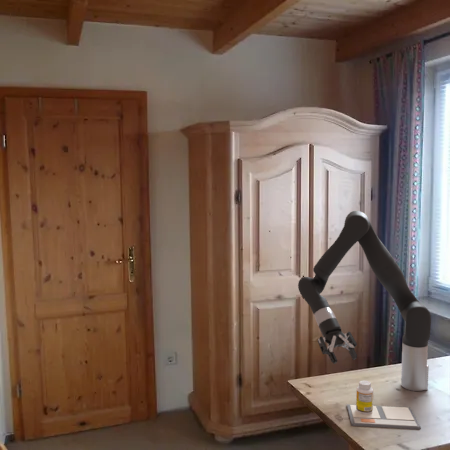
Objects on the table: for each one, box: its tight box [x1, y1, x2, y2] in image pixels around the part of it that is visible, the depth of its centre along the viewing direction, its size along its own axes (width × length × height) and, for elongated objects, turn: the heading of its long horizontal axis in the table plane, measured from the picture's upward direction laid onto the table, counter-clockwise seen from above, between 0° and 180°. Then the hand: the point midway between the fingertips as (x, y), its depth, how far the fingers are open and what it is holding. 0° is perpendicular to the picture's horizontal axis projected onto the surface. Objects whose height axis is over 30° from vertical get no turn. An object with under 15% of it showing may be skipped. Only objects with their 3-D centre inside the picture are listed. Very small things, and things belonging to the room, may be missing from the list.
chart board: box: [346, 403, 422, 430], centre depth 172 cm, size 22×14×1 cm, turn 83°
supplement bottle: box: [355, 380, 374, 414], centre depth 174 cm, size 6×6×10 cm
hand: (345, 360), depth 184 cm, fingers open, 8 cm apart
